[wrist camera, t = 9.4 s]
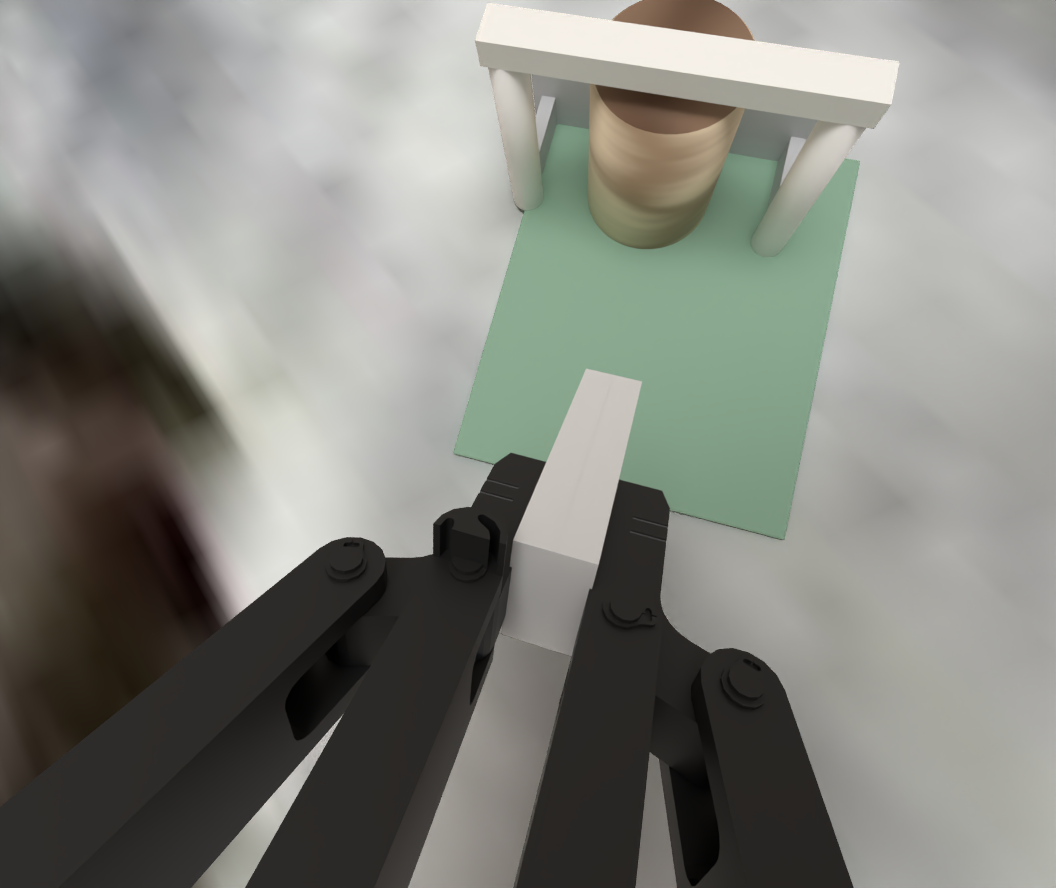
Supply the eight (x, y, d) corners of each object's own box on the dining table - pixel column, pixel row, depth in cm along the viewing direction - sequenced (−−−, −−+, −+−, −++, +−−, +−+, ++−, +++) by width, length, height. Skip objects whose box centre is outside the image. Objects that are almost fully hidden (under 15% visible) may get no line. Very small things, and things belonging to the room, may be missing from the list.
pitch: (856, 165, 32) (860, 161, 31) (781, 539, 29) (784, 539, 28) (554, 114, 34) (554, 109, 34) (454, 454, 31) (453, 452, 31)
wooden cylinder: (714, 143, 32) (764, -7, 24) (703, 253, 31) (753, 139, 22) (594, 137, 33) (600, -11, 24) (581, 244, 32) (581, 130, 23)
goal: (803, 153, 32) (921, -52, 21) (780, 259, 31) (891, 104, 20) (539, 108, 34) (520, -99, 23) (510, 207, 33) (475, 40, 22)
